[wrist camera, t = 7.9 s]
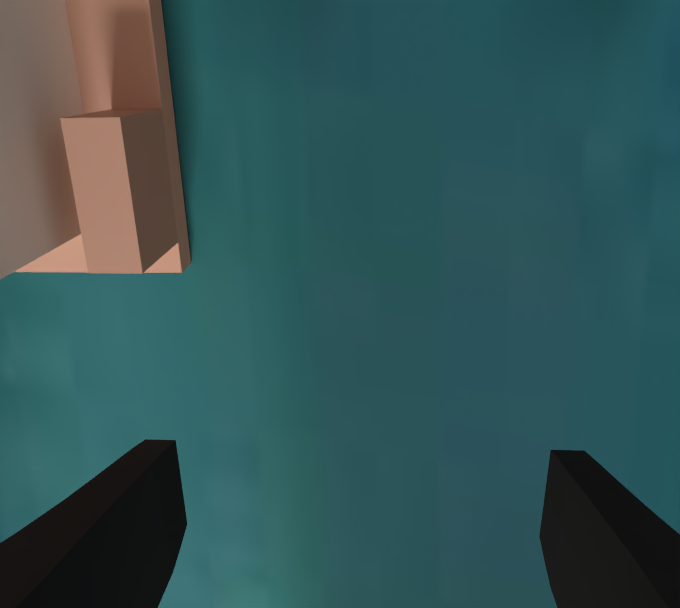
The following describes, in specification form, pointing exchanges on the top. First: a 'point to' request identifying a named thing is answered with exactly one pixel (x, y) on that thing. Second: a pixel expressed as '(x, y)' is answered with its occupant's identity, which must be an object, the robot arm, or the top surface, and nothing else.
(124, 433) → the top surface
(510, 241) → the top surface
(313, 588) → the top surface
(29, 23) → the strip
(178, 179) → the rack
